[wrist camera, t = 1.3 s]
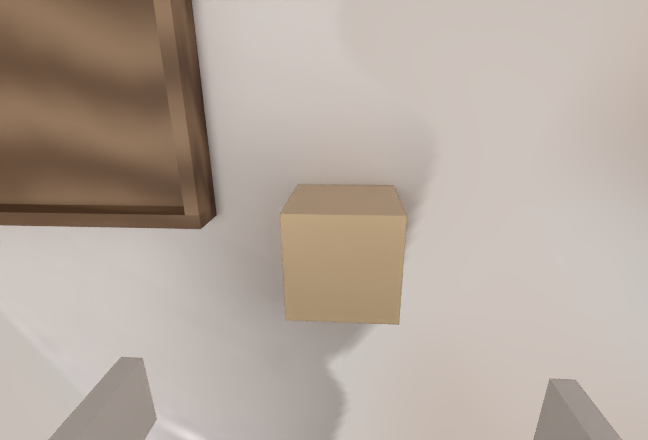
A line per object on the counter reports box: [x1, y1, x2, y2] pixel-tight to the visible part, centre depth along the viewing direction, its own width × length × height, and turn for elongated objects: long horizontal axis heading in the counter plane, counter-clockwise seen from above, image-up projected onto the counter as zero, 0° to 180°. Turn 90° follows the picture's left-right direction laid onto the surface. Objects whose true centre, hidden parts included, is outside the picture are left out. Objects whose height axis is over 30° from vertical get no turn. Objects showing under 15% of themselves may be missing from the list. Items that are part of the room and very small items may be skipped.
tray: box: [0, 0, 216, 229], centre depth 24 cm, size 20×22×3 cm
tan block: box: [280, 185, 407, 324], centre depth 24 cm, size 7×7×7 cm
